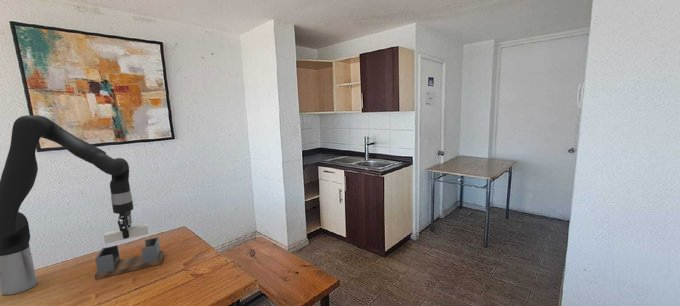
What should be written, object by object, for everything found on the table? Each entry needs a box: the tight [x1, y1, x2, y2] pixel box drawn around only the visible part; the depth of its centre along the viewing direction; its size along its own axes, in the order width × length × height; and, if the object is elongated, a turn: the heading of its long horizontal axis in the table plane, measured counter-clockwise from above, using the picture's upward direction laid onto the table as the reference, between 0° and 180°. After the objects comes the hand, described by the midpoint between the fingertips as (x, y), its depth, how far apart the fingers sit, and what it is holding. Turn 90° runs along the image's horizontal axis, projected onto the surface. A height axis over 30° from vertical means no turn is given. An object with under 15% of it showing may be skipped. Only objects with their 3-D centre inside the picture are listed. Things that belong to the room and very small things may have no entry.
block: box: [103, 222, 149, 245], centre depth 129 cm, size 16×4×4 cm, turn 128°
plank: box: [94, 249, 165, 280], centre depth 132 cm, size 25×11×2 cm, turn 118°
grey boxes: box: [95, 236, 162, 274], centre depth 131 cm, size 23×11×8 cm, turn 118°
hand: (127, 235), depth 129 cm, fingers closed on block, 4 cm apart
